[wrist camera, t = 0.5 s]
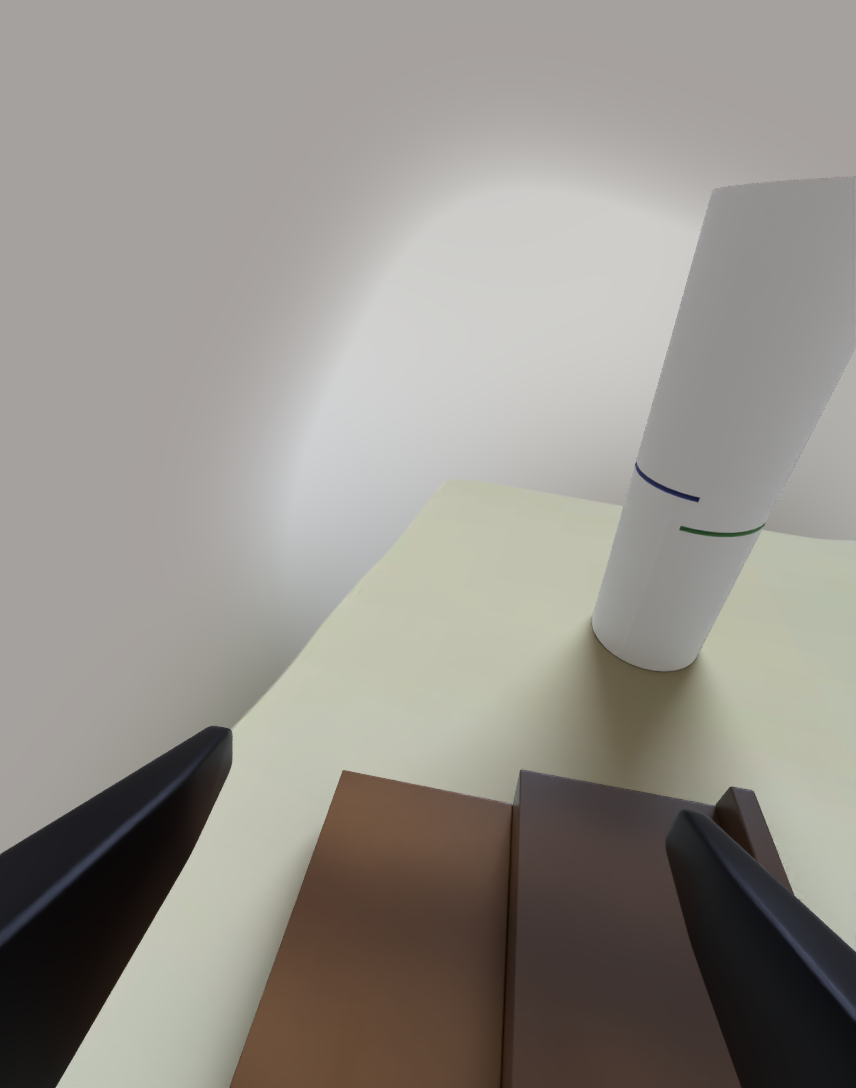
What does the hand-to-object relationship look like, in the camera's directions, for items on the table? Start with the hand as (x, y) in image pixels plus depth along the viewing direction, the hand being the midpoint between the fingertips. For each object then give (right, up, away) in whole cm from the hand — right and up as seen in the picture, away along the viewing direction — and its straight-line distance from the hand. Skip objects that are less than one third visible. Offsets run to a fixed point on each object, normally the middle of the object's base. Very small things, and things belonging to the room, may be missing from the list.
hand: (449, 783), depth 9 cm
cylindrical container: (+15, -2, +23) cm, 28 cm away
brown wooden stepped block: (+2, -12, +8) cm, 15 cm away
